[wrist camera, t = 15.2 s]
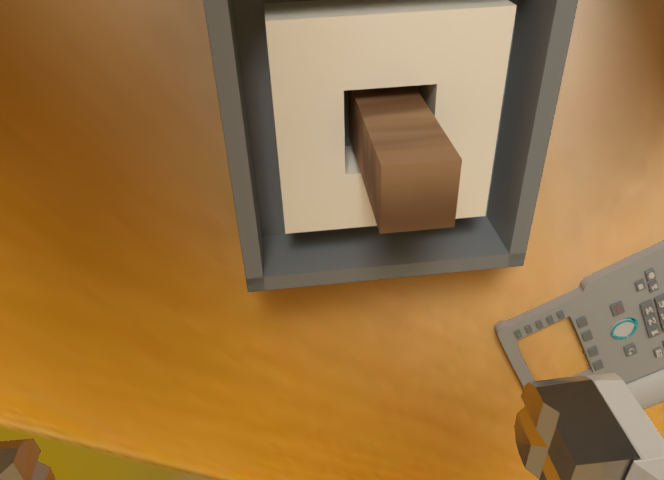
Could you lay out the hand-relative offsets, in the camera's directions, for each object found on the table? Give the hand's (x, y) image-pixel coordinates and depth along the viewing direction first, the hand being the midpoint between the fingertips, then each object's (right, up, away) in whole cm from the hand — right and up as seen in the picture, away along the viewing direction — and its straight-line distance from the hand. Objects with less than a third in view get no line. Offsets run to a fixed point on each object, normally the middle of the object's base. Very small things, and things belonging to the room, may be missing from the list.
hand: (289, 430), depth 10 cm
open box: (+4, +13, +30) cm, 33 cm away
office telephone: (+29, -7, +48) cm, 57 cm away
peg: (+4, +12, +29) cm, 32 cm away
